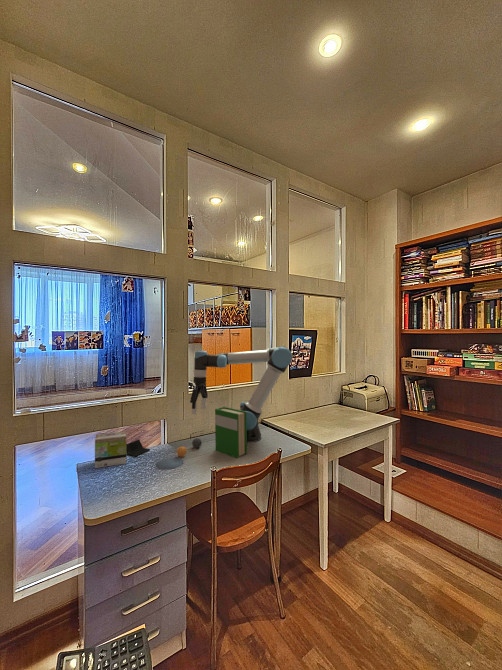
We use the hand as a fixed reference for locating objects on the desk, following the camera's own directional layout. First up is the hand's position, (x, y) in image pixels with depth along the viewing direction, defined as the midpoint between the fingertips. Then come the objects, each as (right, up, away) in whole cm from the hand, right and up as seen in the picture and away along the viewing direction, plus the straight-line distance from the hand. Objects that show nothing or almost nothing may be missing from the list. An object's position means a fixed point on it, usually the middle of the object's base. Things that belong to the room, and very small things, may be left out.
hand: (198, 411), depth 187 cm
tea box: (-42, -21, -25) cm, 53 cm away
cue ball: (0, -18, -5) cm, 18 cm away
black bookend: (-33, -21, -11) cm, 41 cm away
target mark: (-11, -21, -26) cm, 35 cm away
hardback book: (+20, -21, -13) cm, 32 cm away
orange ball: (-6, -18, -17) cm, 26 cm away
